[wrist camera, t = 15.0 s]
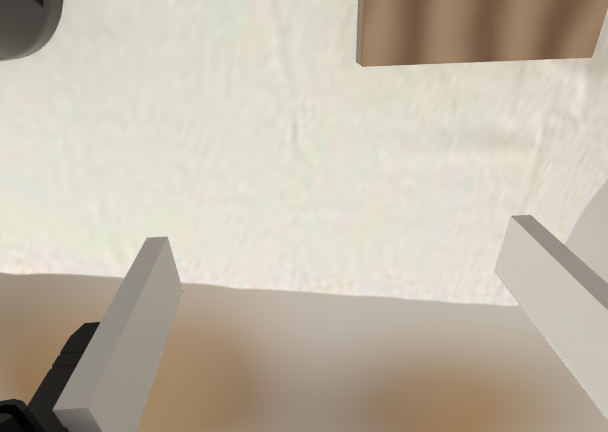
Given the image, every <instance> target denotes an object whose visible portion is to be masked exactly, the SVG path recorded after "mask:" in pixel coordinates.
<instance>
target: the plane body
mask: <svg viewBox="0 0 608 432" xmlns="http://www.w3.org/2000/svg"><path fill="white" fill-rule="evenodd" d="M607 9H608V0H358V21H357V52H356V62H357V63H358V64H360V65H361V66H362V67H366V66H391V65H416V64H441V63H466V62H491V61H516V60H541V59H566V58H591V57H592V56H593V53H594V50H595V46H596V43H597V40H598V37H599V34H600V31H601V28H602V25H603V21H604V18H605V15H606V12H607Z"/></svg>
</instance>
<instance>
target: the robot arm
mask: <svg viewBox="0 0 608 432" xmlns="http://www.w3.org/2000/svg"><path fill="white" fill-rule="evenodd" d="M61 6H62V0H0V61H6V60H12V59H18V58H23V57H26V56H29V55H31V54H33V53H35V52H37V51H38V50H39V49H41V48H42V47H43V46H44V45H45V44H46V43H47V42H48V41H49V40H50V38H51V37H52V35H53V34H54V32H55V30H56V28H57V25H58V22H59V18H60V14H61ZM494 272H495V273H496V275H497V276H498V277H499V279H500V280H501V281H502V282H503V284H504V285H505V286H506V288H507V289H508V290H509V292H510V293H511V294H512V296H513V297H514V298H515V299H516V301H517V302H518V303H519V305H520V306H521V307H522V309H523V310H524V311H525V313H526V314H527V315H528V316H529V318H530V319H531V320H532V322H533V323H534V324H535V326H536V327H537V328H538V329H539V331H540V332H541V333H542V335H543V336H544V338H545V339H546V340H547V341H548V343H549V344H550V345H551V347H552V348H553V349H554V351H555V352H556V353H557V354H558V356H559V357H560V358H561V360H562V361H563V362H564V364H565V365H566V366H567V368H568V369H569V370H570V372H571V373H572V374H573V375H574V377H575V378H576V379H577V380H578V382H579V383H580V384H581V386H582V387H583V389H584V390H585V391H586V392H587V394H588V395H589V396H590V398H591V399H592V400H593V402H594V403H595V404H596V406H597V407H598V408H599V410H600V411H601V412H602V414H603V415H604V416H605V417H606V419H607V420H608V284H607V283H606V282H605V281H604V280H603V279H602V278H601V277H599V276H598V275H597V274H596V273H595V272H594V271H593V270H591V269H590V268H589V267H588V266H587V265H586V264H585V263H584V262H583V261H581V260H580V259H579V258H578V257H577V256H576V255H575V254H574V253H572V252H571V251H570V250H569V249H568V248H567V247H566V246H565V245H564V244H562V243H561V242H560V241H559V240H558V239H557V238H556V237H555V236H553V235H552V234H551V233H550V232H549V231H548V230H547V229H546V228H545V227H543V226H542V225H541V224H540V223H539V222H538V221H537V220H536V219H534V218H533V217H532V216H531V215H521V216H511V217H510V221H509V224H508V227H507V231H506V234H505V237H504V240H503V244H502V247H501V250H500V254H499V257H498V260H497V263H496V267H495V270H494ZM182 293H183V290H182V286H181V283H180V279H179V275H178V272H177V268H176V265H175V261H174V258H173V254H172V251H171V247H170V244H169V240H168V237H153V238H147V239H146V241H145V242H144V244H143V246H142V248H141V250H140V251H139V253H138V255H137V257H136V259H135V261H134V262H133V264H132V266H131V268H130V270H129V272H128V273H127V275H126V277H125V279H124V281H123V282H122V284H121V286H120V288H119V290H118V292H117V294H116V295H115V297H114V299H113V301H112V302H111V304H110V306H109V308H108V310H107V312H106V313H105V315H104V317H103V319H102V321H101V322H94V323H84V324H83V325H82V326H81V327H80V328H79V329H78V330H77V331H76V332H75V333H74V334H72V335H71V336H70V338H69V339H68V341H67V342H66V344H65V346H64V347H63V349H62V350H61V352H60V356H58V357H57V359H56V360H55V362H54V364H53V365H52V369H50V370H49V372H48V373H47V375H46V377H45V378H44V380H43V381H42V383H41V385H40V386H39V388H38V389H37V391H36V393H35V394H34V396H33V398H32V399H31V401H30V403H29V404H28V406H27V405H26V404H25V403H24V402H23V401H21V400H16V399H10V400H4V401H0V432H137V428H138V425H139V423H140V420H141V417H142V414H143V410H144V408H145V405H146V402H147V398H148V395H149V392H150V389H151V386H152V383H153V380H154V377H155V374H156V371H157V368H158V365H159V362H160V359H161V356H162V353H163V350H164V347H165V344H166V341H167V338H168V335H169V332H170V329H171V326H172V323H173V320H174V317H175V314H176V311H177V308H178V305H179V301H180V299H181V296H182Z"/></svg>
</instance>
